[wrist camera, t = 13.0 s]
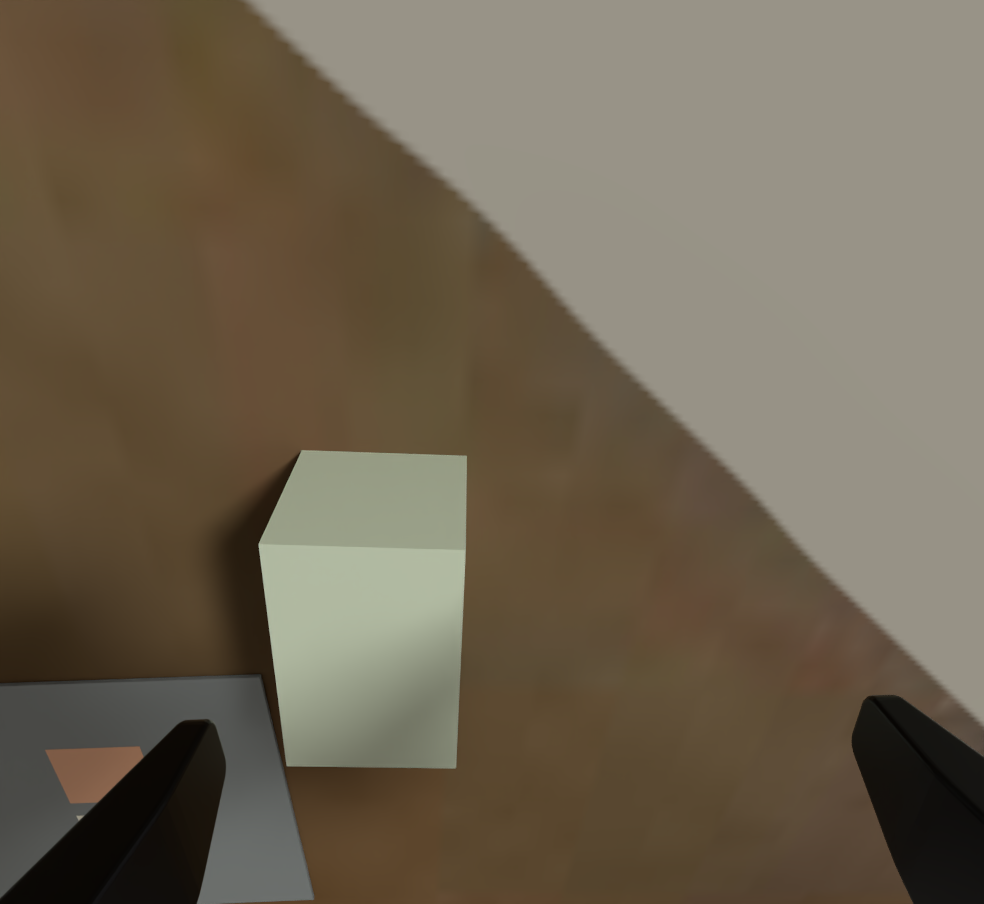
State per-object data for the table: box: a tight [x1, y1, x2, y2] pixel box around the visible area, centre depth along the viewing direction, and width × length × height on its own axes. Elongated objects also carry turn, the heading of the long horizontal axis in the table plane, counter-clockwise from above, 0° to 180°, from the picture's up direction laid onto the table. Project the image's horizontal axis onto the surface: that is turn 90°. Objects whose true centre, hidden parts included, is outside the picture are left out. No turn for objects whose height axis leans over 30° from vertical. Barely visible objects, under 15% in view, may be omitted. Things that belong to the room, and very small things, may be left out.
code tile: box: [0, 674, 314, 904], centre depth 28 cm, size 14×14×1 cm
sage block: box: [258, 450, 467, 768], centre depth 21 cm, size 5×8×5 cm, turn 177°
